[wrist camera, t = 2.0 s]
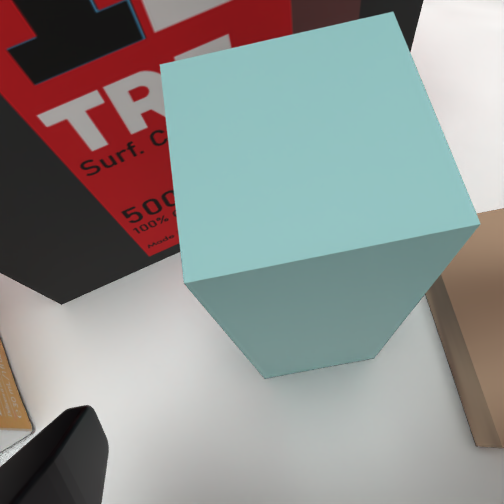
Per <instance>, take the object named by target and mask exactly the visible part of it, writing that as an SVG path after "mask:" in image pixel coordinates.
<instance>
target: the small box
mask: <svg viewBox="0 0 504 504" xmlns="http://www.w3.org/2000/svg"><path fill="white" fill-rule="evenodd" d="M31 432H32V425H31V423H30V421H29V418H28V416H27V413H26V410H25V408H24V406H23V403H22V400H21V398H20V395H19V393H18V390H17V387H16V384H15V381H14V378H13V375H12V372H11V370H10V367H9V364H8V360H7V357H6V354H5V351H4V348H3V345H2V342H1V339H0V452H1V451H3V450H5V449H6V448H8V447H9V446H11V445H13V444H14V443H16V442H18V441H19V440H21V439H22V438H24V437H26V436H27V435H29V434H30V433H31Z"/></svg>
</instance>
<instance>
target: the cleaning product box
mask: <svg viewBox="0 0 504 504" xmlns="http://www.w3.org/2000/svg"><path fill="white" fill-rule="evenodd" d="M422 4H423V0H0V273H2V274H4V275H6V276H8V277H10V278H12V279H13V280H15V281H17V282H19V283H21V284H23V285H25V286H27V287H29V288H31V289H33V290H35V291H36V292H38V293H40V294H42V295H44V296H46V297H48V298H50V299H52V300H54V301H56V302H58V303H60V304H61V305H62V304H64V303H66V302H68V301H71V300H73V299H75V298H77V297H80V296H82V295H84V294H86V293H89V292H91V291H93V290H95V289H97V288H100V287H102V286H104V285H106V284H109V283H111V282H113V281H115V280H118V279H120V278H122V277H124V276H127V275H129V274H131V273H133V272H136V271H138V270H140V269H142V268H144V267H147V266H149V265H151V264H153V263H156V262H158V261H160V260H162V259H165V258H167V257H169V256H171V255H174V254H176V253H178V252H180V242H179V233H178V224H177V215H176V206H175V197H174V188H173V179H172V170H171V161H170V152H169V143H168V134H167V125H166V116H165V107H164V98H163V89H162V80H161V71H160V64H164V63H169V62H173V61H178V60H182V59H186V58H191V57H195V56H200V55H204V54H208V53H213V52H217V51H222V50H226V49H230V48H235V47H239V46H244V45H248V44H253V43H257V42H261V41H266V40H270V39H275V38H279V37H283V36H288V35H292V34H297V33H301V32H305V31H310V30H314V29H319V28H323V27H327V26H332V25H336V24H341V23H345V22H349V21H354V20H358V19H363V18H367V17H372V16H376V15H380V14H385V13H389V12H394V15H395V17H396V20H397V22H398V24H399V27H400V29H401V32H402V34H403V37H404V39H405V41H406V44H407V46H408V49H409V51H411V47H412V43H413V39H414V35H415V31H416V27H417V24H418V20H419V16H420V12H421V8H422Z"/></svg>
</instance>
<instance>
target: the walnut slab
mask: <svg viewBox="0 0 504 504" xmlns="http://www.w3.org/2000/svg"><path fill="white" fill-rule="evenodd" d="M477 216H478V219H479V221H480V225H479V227H478V228H477V229H476V230H475V232H474V233H473V234H472V235H471V237H470V238H469V239H468V241H467V242H466V243H465V244H464V246H463V247H462V248H461V249H460V251H459V252H458V253H457V254H456V256H455V257H454V258H453V259H452V261H451V262H450V263H449V264H448V266H447V267H446V268H445V269H444V271H443V272H442V273H441V275H440V276H439V277H438V278H437V280H436V281H435V282H434V283H433V285H432V286H431V287H430V288H429V290H428V291H427V292H426V293H425V294H426V297H427V300H428V303H429V306H430V309H431V312H432V315H433V318H434V321H435V324H436V327H437V330H438V333H439V336H440V339H441V342H442V345H443V348H444V351H445V354H446V357H447V360H448V363H449V366H450V369H451V372H452V375H453V378H454V381H455V384H456V387H457V390H458V393H459V396H460V399H461V402H462V405H463V408H464V411H465V414H466V417H467V420H468V423H469V426H470V429H471V432H472V435H473V438H474V441H475V444H476V446H481V447H496V448H504V208H502V209H497V210H492V211H487V212H482V213H477Z"/></svg>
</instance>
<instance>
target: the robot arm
mask: <svg viewBox="0 0 504 504" xmlns="http://www.w3.org/2000/svg"><path fill="white" fill-rule="evenodd" d="M108 453H109V447H108V441H107V437H106V435H105V433H104V431H103V428H102V426H101V424H100V421H99V419H98V417H97V415H96V412H95V410H94V409H93V408H92V407H91V406H89V405H84V406H79V407H74V408H69V409H67V410H65V411H64V412H63V413H61V414H60V415H59V416H58V417H57V418H56V419H55V420H53V421H52V422H51V423H50V424H49V425H48V426H47V427H45V428H44V429H43V430H42V431H41V432H40V433H39V434H37V435H36V436H35V437H34V438H33V439H32V440H31V441H29V442H28V443H27V444H26V445H25V446H24V447H23V448H21V449H20V450H19V451H18V452H17V453H16V454H15V455H13V456H12V457H11V458H10V459H9V460H8V461H7V462H5V463H4V464H3V465H2V466H1V467H0V504H101V503H102V496H103V489H104V482H105V475H106V468H107V460H108Z"/></svg>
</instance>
